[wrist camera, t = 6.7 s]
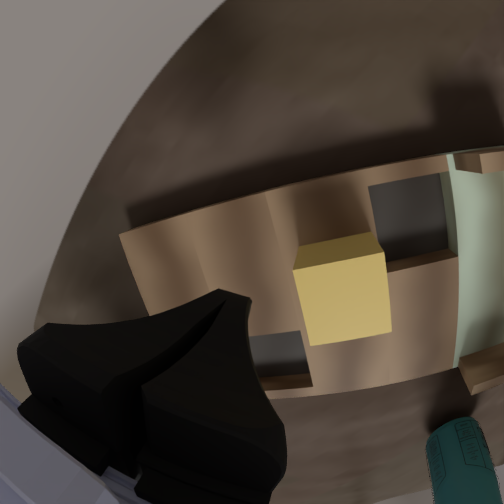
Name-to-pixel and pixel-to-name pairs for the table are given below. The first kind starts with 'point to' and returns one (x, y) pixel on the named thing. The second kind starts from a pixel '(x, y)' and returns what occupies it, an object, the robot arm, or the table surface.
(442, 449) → the beverage bottle
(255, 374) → the robot arm
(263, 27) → the table surface
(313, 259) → the mustard block
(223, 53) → the table surface
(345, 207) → the trap board
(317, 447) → the table surface
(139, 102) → the table surface
